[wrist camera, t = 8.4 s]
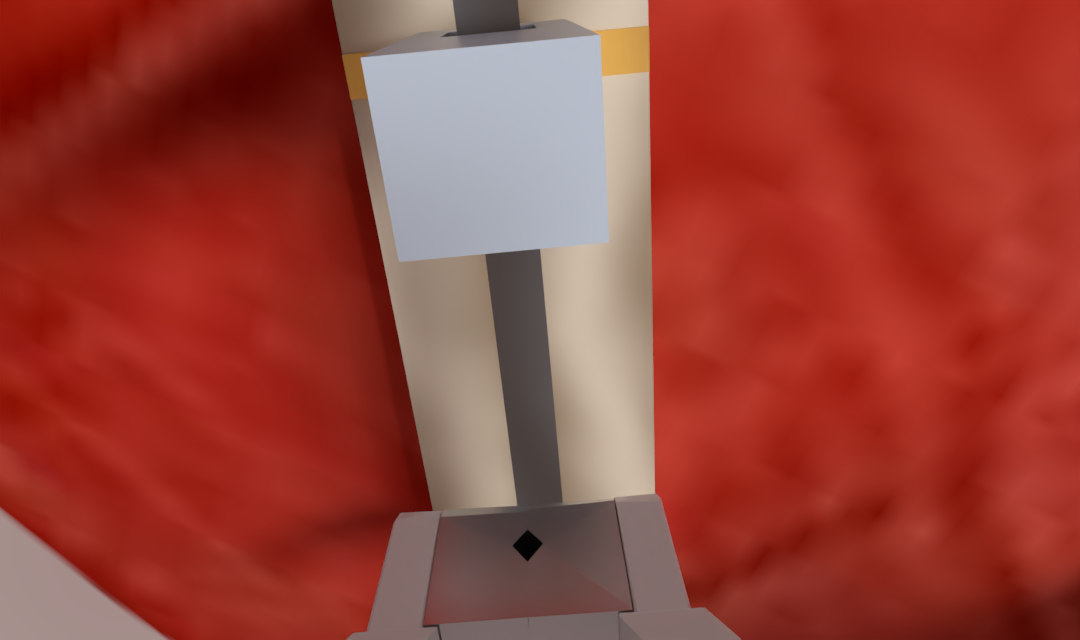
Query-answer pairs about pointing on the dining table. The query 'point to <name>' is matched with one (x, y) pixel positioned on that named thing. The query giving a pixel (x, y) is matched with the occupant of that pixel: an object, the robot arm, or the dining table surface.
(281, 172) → the dining table surface
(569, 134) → the slide rail carriage
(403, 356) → the linear slide rail
